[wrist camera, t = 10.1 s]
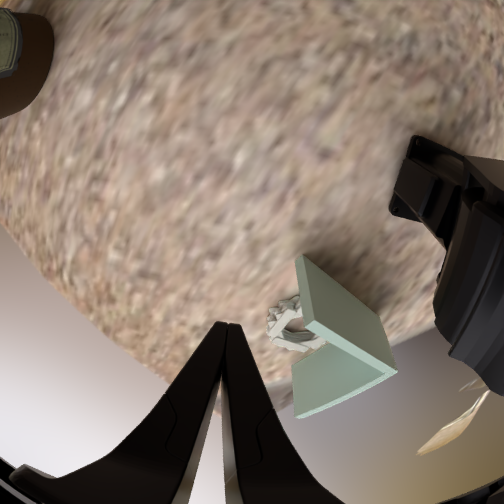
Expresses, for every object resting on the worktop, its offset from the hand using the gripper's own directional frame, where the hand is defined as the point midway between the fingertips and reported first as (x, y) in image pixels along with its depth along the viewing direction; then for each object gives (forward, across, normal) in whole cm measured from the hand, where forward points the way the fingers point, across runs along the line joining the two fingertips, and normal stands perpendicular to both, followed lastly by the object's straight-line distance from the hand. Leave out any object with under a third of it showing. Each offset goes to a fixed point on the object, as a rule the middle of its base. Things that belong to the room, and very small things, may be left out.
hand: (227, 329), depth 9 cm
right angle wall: (+13, -7, +13) cm, 19 cm away
